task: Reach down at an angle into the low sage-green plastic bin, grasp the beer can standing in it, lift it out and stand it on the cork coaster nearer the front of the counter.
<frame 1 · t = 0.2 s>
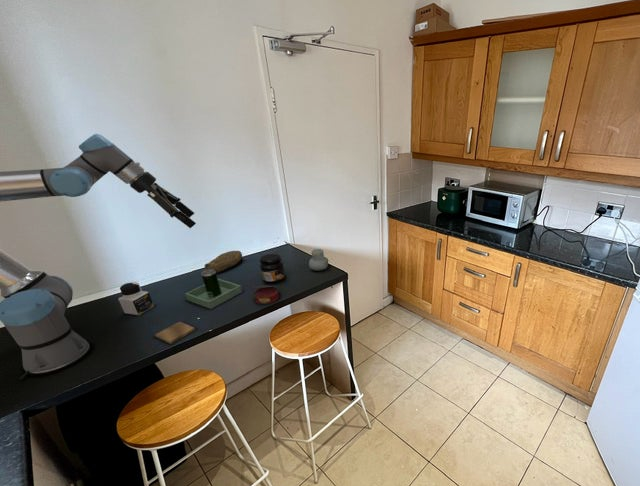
hand: (192, 220, 122), 35 cm above the countertop, tool tilted 35°, fingers open, 13 cm apart
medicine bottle: (140, 310, 129), on the countertop
brown oval lump: (227, 266, 166), on the countertop
canned food: (267, 298, 138), on the countertop
beer can: (215, 295, 139), resting on bin
air freshener: (319, 268, 164), on the countertop
coaster: (175, 333, 115), on the countertop
supplement container: (274, 279, 153), on the countertop
bin: (215, 295, 139), on the countertop
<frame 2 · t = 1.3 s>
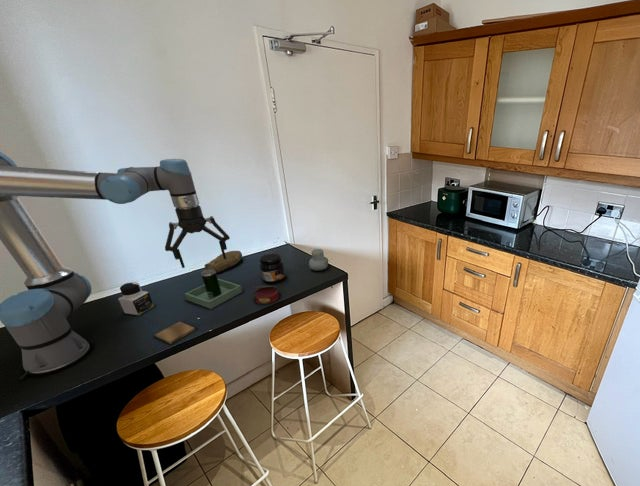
hand: (204, 262, 117), 23 cm above the countertop, tool pointing down, fingers open, 13 cm apart
nothing on the countertop moved.
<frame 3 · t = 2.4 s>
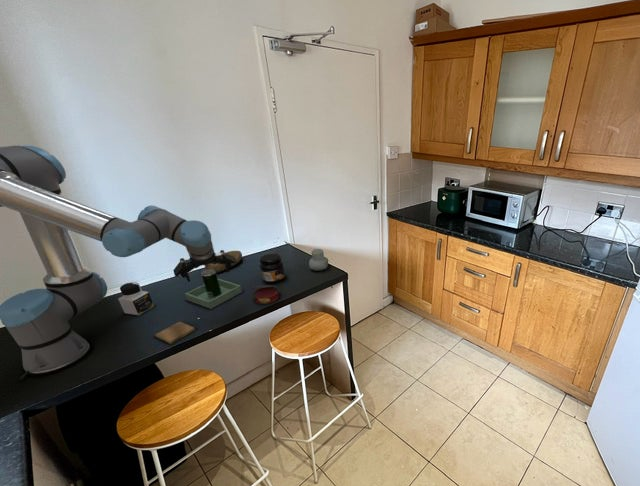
hand: (208, 273, 124), 16 cm above the countertop, tool tilted 45°, fingers open, 13 cm apart
nothing on the countertop moved.
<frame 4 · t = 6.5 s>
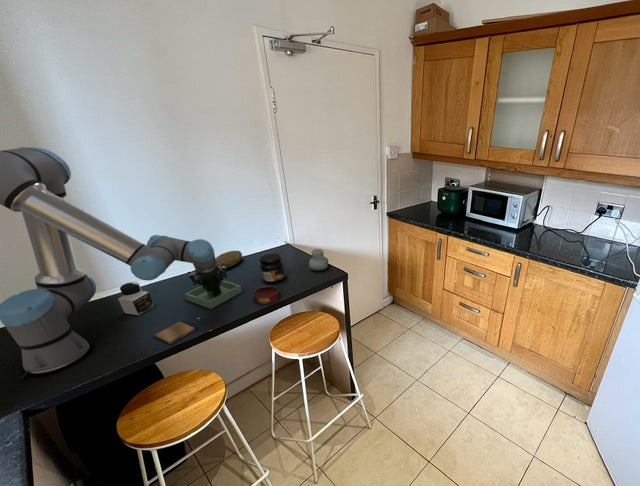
hand: (211, 284, 140), 4 cm above the countertop, tool tilted 45°, fingers closed on beer can, 5 cm apart
beer can: (215, 295, 139), resting on bin, touching gripper
everything else where it was.
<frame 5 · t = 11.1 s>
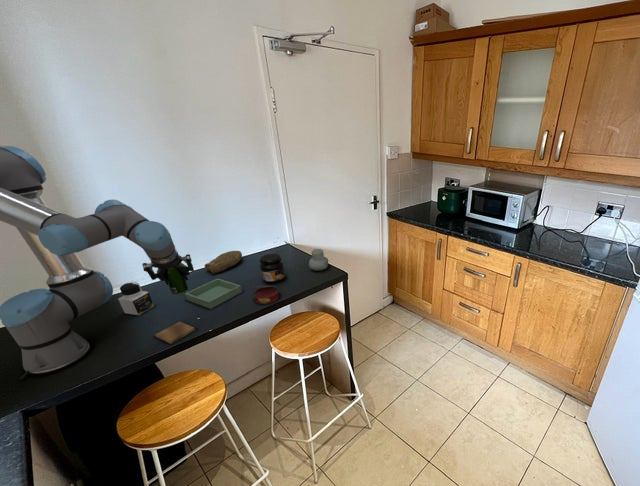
hand: (176, 279, 119), 16 cm above the countertop, tool tilted 45°, fingers closed on beer can, 5 cm apart
beer can: (180, 292, 118), point 12 cm above the countertop, touching gripper
everything else where it was.
when the fingers open (5 cm above the countertop, at t = 15.6 s): beer can stays where it is, resting on coaster.
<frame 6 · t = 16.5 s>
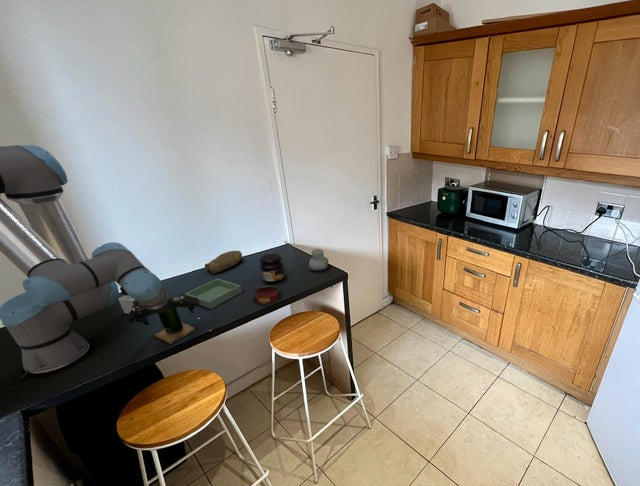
hand: (170, 315, 114), 7 cm above the countertop, tool tilted 45°, fingers open, 13 cm apart
beer can: (175, 331, 115), point 1 cm above the countertop, touching coaster
everything else where it was.
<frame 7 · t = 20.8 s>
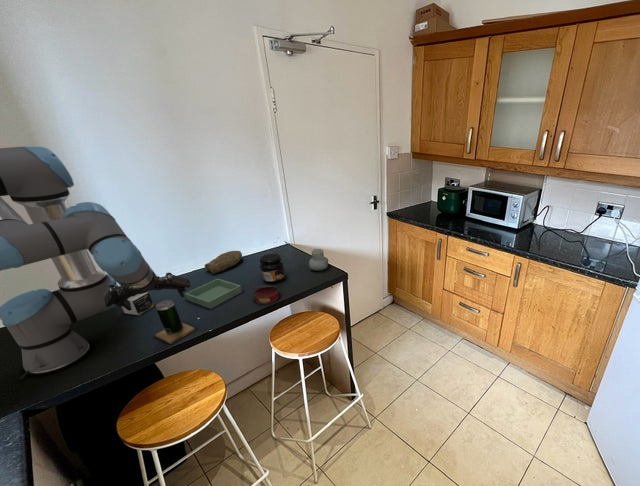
hand: (156, 299, 98), 20 cm above the countertop, tool tilted 45°, fingers open, 13 cm apart
nothing on the countertop moved.
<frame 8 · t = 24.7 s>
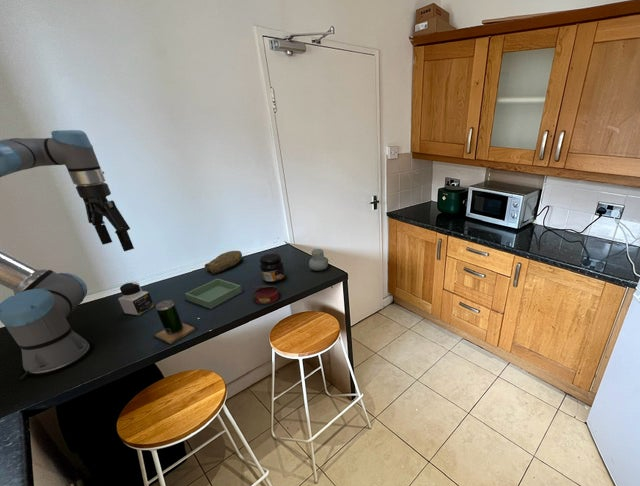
hand: (118, 246, 107), 32 cm above the countertop, tool pointing down, fingers open, 13 cm apart
nothing on the countertop moved.
at the end: beer can inside the target area on the coaster (0.1 cm from its centre), point 0.8 cm above the coaster's base; beer can tilted 0°; the gripper is holding nothing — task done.
